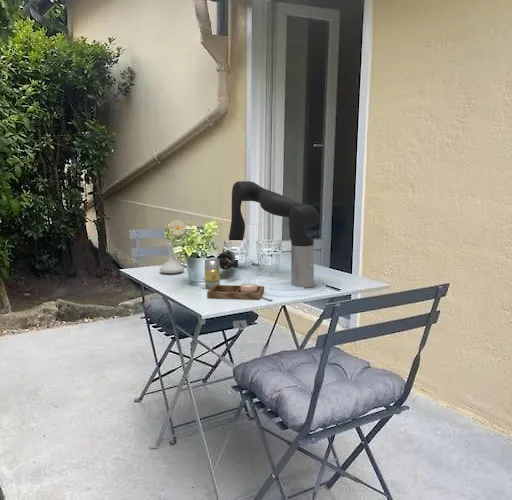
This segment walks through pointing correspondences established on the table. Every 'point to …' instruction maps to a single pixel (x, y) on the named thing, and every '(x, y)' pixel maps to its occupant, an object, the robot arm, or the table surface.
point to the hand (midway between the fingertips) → (218, 266)
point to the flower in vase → (172, 264)
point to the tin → (212, 273)
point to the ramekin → (249, 288)
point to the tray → (233, 293)
